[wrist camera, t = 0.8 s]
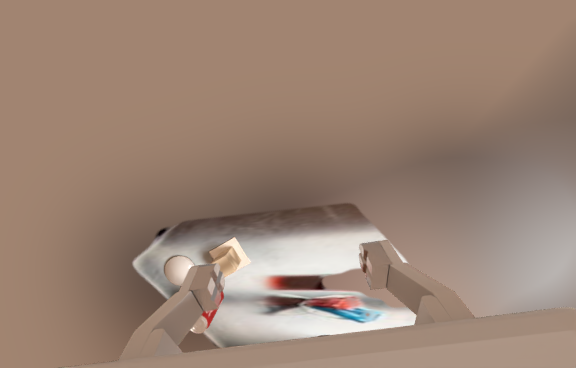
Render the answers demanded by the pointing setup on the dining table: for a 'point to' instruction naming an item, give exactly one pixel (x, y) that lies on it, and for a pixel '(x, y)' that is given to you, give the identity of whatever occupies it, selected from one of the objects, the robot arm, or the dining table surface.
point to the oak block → (227, 261)
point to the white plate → (178, 269)
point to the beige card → (237, 248)
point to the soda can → (205, 319)
